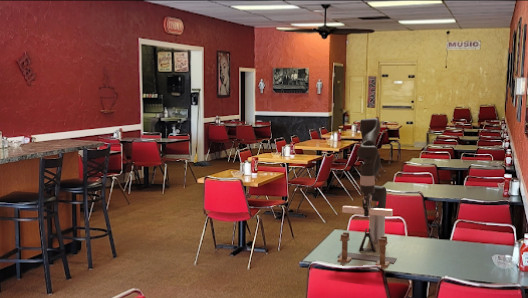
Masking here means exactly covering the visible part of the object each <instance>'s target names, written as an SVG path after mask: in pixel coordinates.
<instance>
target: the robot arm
mask: <svg viewBox="0 0 528 298" xmlns="http://www.w3.org/2000/svg"><path fill="white" fill-rule="evenodd" d="M359 128H360V134H361V140H362V141H361V144H360V145H359V146H358V148H357V153H356V155H357V157H358V158H359V159H360V160H363V161H364V163H362V164H360V179H359V182H360V183H359V192H360V193H361V194H363V196H362V207H363V209H364V214H363V216H364V217H366V218H368V229H370V230H371V232H370V234H371V237H372V240H373V242H374V244H375V243H376V244H378V243H379V238H381V236H386V235H385V232H386V231H385V229H386V228H385V227H386V225H385V224H386V216H381V215H369V208H381V209H387V207H386V206H387V195H388V194H387V193H388V192H387V191H388V190H387V188H386V186H382V185H381V186H380V185H375V181H376V179H375V178H376V176H377V174H378V172H379V171H380V169H381V166H382V162H381V154H380V153H379V149H378V147H377V146H376V143H377V142H376V141H377V138H378V137H379V135H380V132H381V122H380V119H379V118H375V117H372V118H363V119H361V120H360V121H359ZM372 202H378V203H377V205H372Z"/></svg>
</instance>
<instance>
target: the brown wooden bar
mask: <svg viewBox="0 0 528 298" xmlns="http://www.w3.org/2000/svg"><path fill="white" fill-rule="evenodd" d="M393 210H394V209H392V208H385V209H381V208H369V215H381V216H385V217H393ZM341 211H342V213H345V214H355V215H364V209H363V206H356V205H355V206H354V205H353V206H351V205H343V206H342V209H341Z"/></svg>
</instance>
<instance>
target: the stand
mask: <svg viewBox="0 0 528 298" xmlns="http://www.w3.org/2000/svg"><path fill="white" fill-rule="evenodd" d="M350 240H351V238H350V232H347V231H346V232H345V231H343V233H342V234H340V239H339V241H340V242H341V252H342V256H340V257H337V263H347V264H349V263H350V262H351V261H352V260H353V259H352V258H351V257H347V252H349V251H348V247H349V246H348V243H349V242H348V241H350ZM387 244H389V242H388V236H386V235H384V236H381V238H379V243H377V246H379V256H380V261H377V262H375V265H381V266H382V267H381V268H385V269H386V268H387V269H388V267H389V265H390V263H389V262H385V257H386V250H387V249H386V247H387Z"/></svg>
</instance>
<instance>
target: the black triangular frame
mask: <svg viewBox="0 0 528 298" xmlns="http://www.w3.org/2000/svg"><path fill="white" fill-rule="evenodd" d="M367 231H368V232H367ZM370 232H371V230H370V229H369V228H365V230H364V236H363V237H362V238H363V239H362V240H361V243H360V245H359V250H358V252H365V253H366V252H368V253H376V246H375V243H374V242H373V240H372V237H371V234H370ZM367 238H368V241H369V244H370V247H364V245H365V242H366V240H367Z"/></svg>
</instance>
